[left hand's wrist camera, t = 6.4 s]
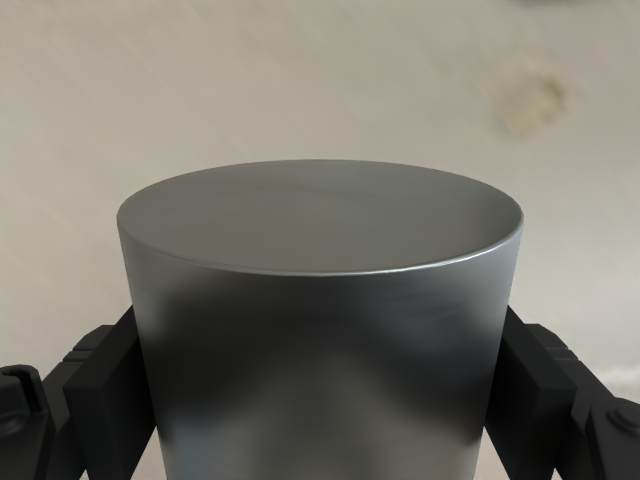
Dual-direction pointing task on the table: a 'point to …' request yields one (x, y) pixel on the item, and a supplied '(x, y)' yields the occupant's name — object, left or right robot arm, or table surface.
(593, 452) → the left robot arm
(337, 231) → the rod
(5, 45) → the table surface
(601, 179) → the table surface
